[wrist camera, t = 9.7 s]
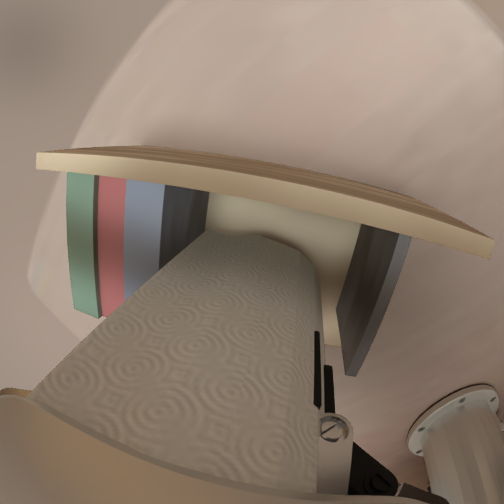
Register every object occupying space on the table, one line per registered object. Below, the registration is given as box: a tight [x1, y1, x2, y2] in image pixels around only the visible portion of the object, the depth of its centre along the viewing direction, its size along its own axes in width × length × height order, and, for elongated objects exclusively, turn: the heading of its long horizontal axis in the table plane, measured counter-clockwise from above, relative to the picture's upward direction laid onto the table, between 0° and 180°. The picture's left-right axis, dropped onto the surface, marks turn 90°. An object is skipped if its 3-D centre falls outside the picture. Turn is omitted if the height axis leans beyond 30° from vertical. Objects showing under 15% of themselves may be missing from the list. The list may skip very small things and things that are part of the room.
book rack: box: [36, 146, 495, 377], centre depth 16 cm, size 12×20×10 cm, turn 80°
